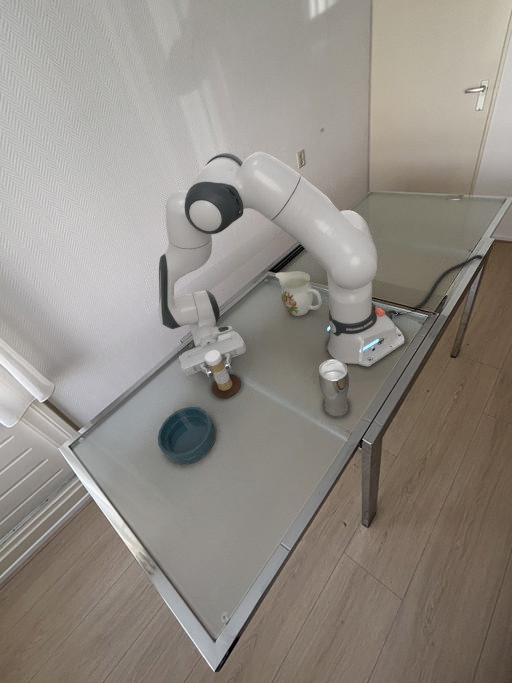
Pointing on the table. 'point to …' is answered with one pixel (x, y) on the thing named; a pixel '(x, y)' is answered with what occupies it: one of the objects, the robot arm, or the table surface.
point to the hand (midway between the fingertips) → (219, 370)
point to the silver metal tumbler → (334, 386)
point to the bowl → (187, 435)
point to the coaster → (229, 392)
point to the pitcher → (297, 292)
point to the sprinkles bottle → (218, 369)
